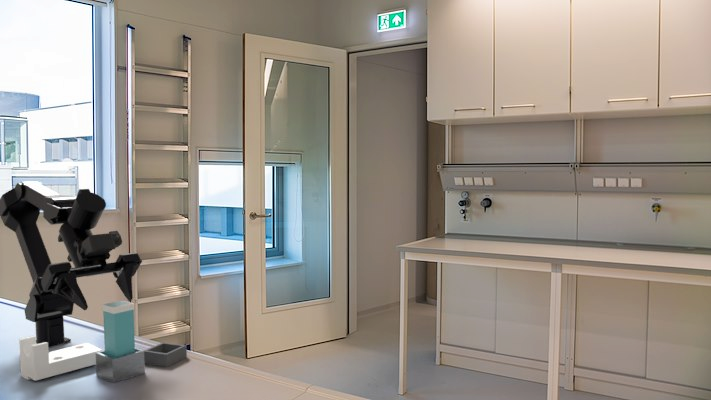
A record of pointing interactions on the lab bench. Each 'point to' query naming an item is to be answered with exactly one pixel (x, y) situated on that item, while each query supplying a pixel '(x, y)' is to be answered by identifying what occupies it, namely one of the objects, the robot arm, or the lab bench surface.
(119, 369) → the box
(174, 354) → the frame
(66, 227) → the robot arm
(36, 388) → the lab bench surface
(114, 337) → the plug
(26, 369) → the bracket
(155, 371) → the lab bench surface
